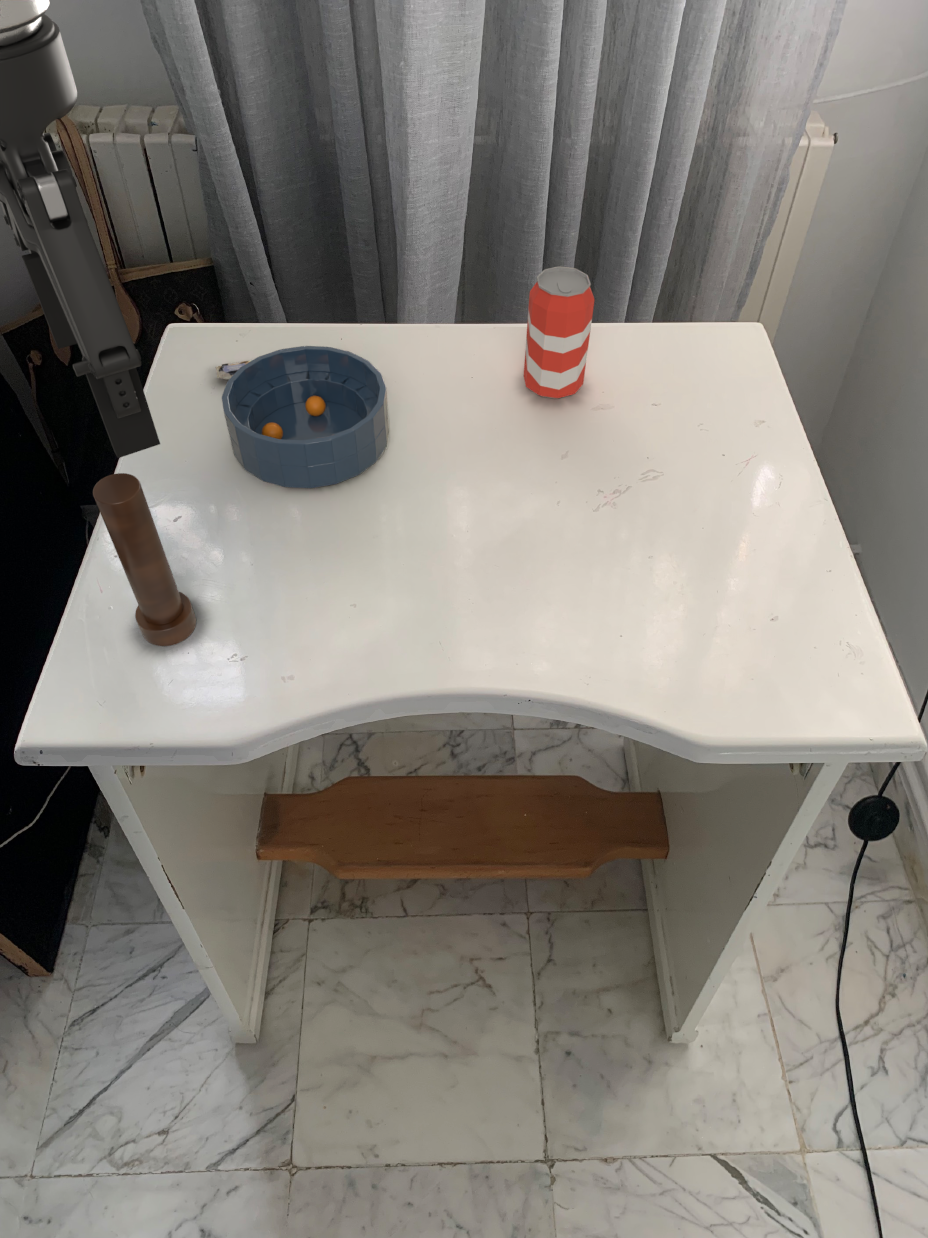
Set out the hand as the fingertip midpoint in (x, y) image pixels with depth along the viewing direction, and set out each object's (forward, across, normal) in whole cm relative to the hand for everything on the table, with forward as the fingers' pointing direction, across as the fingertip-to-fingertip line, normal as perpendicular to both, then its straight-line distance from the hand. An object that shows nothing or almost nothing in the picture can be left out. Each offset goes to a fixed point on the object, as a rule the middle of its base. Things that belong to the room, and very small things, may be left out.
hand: (105, 391), depth 59 cm
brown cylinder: (+21, -3, +2) cm, 21 cm away
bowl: (+21, +13, -18) cm, 30 cm away
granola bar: (+21, +27, -17) cm, 38 cm away
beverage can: (+21, +8, -44) cm, 50 cm away
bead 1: (+19, +14, -15) cm, 28 cm away
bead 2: (+19, +16, -20) cm, 32 cm away
